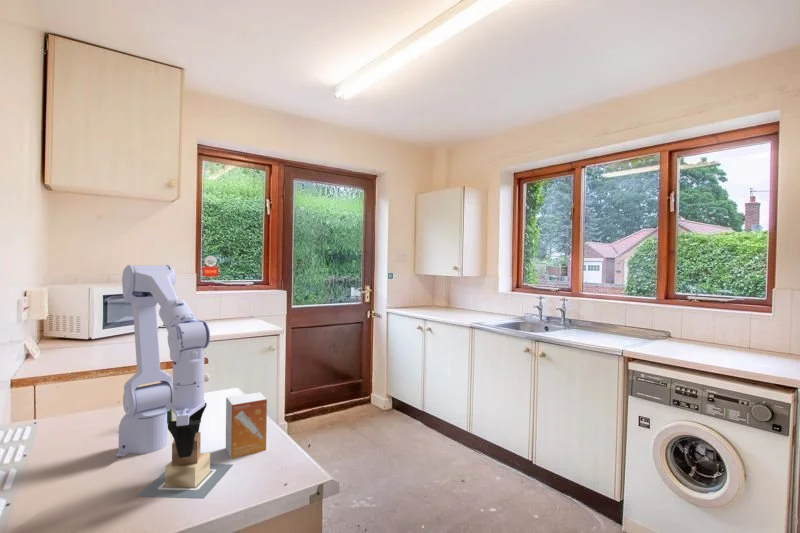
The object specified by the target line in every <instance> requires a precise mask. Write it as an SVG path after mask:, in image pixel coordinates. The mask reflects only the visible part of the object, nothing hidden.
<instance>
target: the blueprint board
mask: <svg viewBox="0 0 800 533" xmlns="http://www.w3.org/2000/svg"><path fill="white" fill-rule="evenodd" d="M233 466H234V464H232V463H231V464H229V463H225V464H224V463H223V464H222V463H210V473H209V474H208V475H207V476H206V477H205V478H204V479H203V480H202V481H201V482H200V483H199V484H198V485H197V486H196V487H195V488H191V487H165V471H164V472H162V474H160V475H159V476H158V477H157V478H156V479H155V480H153V481H152V482H151V483H150V484H149V485H147V486H146V487H145V488H144V489H143V490H141V491H140V492H139V493H138V494H137V495H136V496H135V497H137V498H139V497H141V498H168V499H169V498H170V499H171V498H175V499H177V498H178V499H205V498H206V497H207V495H209V493H210V492H211V491H212V490H213V489H214V488H215V486H216V485H217V484H218V483H219V482H220V480H222V478H223V477H224V476H225V475H226V474H227V472H229V471H230V469H231V468H232V467H233Z"/></svg>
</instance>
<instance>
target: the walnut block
mask: <svg viewBox="0 0 800 533" xmlns="http://www.w3.org/2000/svg"><path fill="white" fill-rule="evenodd" d="M200 453H201V431H199V432H197V433H196V434H195V439H194V445H193V451H192V454H191V456H190V457H182V458H179V456H178V452H177V448H176V444H175V440H174V439H173V441H172V444H171V461H172V467H173V466H181V465H189V464H196V463H197V462H198V459H199V456H200Z"/></svg>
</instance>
